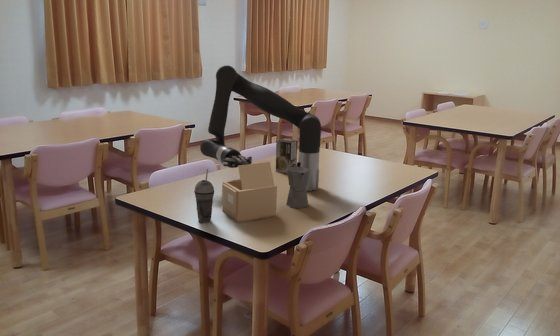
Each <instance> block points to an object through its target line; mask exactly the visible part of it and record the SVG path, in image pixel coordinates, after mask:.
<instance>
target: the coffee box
mask: <svg viewBox="0 0 560 336" xmlns="http://www.w3.org/2000/svg"><path fill="white" fill-rule="evenodd" d="M275 141H276V142H275V145H276V148H275V172H277V171H278V172H277V173H284V174H288V171H287V170H288V168H289V167H292V165H293V164H296V165H297V162H298V161H297V160H298V140H295V139H288V138H280V139H277V140H275Z"/></svg>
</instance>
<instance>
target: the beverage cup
mask: <svg viewBox="0 0 560 336" xmlns="http://www.w3.org/2000/svg"><path fill="white" fill-rule="evenodd" d="M205 172H206V173H205V179H202V180H200V181H198V182H197V183H196V184H195V186H194V192H193V193H194V195H195V202H196V211H197V212H196V213H197V214H196V215H197V219H198V223H201V224H209V223H211V221H212V214H213V213H212V212H213V211H212V210H213V201H214V196H215V188H214V185H213V184H212V182H211V181H210V180H208V175H209V168H206V171H205Z"/></svg>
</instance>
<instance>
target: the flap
mask: <svg viewBox="0 0 560 336" xmlns="http://www.w3.org/2000/svg"><path fill="white" fill-rule="evenodd" d="M237 168H238V174H239V179H241V185H242V190H247V189H253V188H260V187H267V186H274V185H275V182H274V176H273V175H274V174H273V171H272V165H271V162H270V161H266V162H265V161H264V162H258V163H257V162H256V163H251V164H247V165H239V166H238V167H237Z"/></svg>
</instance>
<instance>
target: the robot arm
mask: <svg viewBox="0 0 560 336" xmlns="http://www.w3.org/2000/svg"><path fill="white" fill-rule="evenodd" d="M215 80H216V82H215V83H216V84H215V85H216V86H215V87H216V88H215V96H214V101H213V105H212V109H211V112H210V113H211V114H210V119H209V123H208V128H207V132H208V133H209V134H210V135H212V136H214V137H215V139H214V140H213V139H209V138H208V139H204V140H203V141H202V142H201V143H200V146H199V148H200V149H199V150H200V153H201V154H203V156H205V157H207V158H208V157H209V158H212V159H214V160H216V161H218V162H219V163H221V164H222V165H223V166H224V167H227V168H230V169H235V168H236V169H237V168H238V166H239V165H247V164H253V162H252V161H253V156H248V157H246V156H242V154H241V152H240V151H239V150H237V149H235V148H233V147H231V146H228V145H226V144H225V143H226V142H225V130H226V129H225V128H226V124H227V120H228V114H229V104H230V98H231V95H232V92H233V93H235V94H237V95H239V96H241V97H243V98H244V99H245V100H247V101H248V102H250V103H251V104H252V105H254V106H255V107H257V108H259V109H260V110H262V111H264V112H265V113H267V114H268V115H271V116H273V117H276V118H279V119H282V120H285V121H287V122H289V123H291V124H292V125H294V126H295V127H296V128H298V129H299V139H298V140H299V142H298V159H297V160H298V161H297V162H300V163H301V165H300V166H301V167H306V168H308V169H310V172H309V177H308V182H307V186H306V190H307V192H312V190H314V191H319V181H320V169H319V167H320V151H321V140H322V139H321V137H322V136H321V135H322V124H321V121H320V119H319V117H318V116H316V115H315V114H312V113H310V112H308V111H305V110H303V109H302V108H299V107H297V106H295V105H294V104H293V103H291V102H290V101H289V100H287V99H286V98H285V97H282V96H281V95H280V94H277V93H276V92H274V91H273V90H271V89H269V88H268V87H267V88H266V87H264V86H262V85H259V84H257V83H255V82H252V81H250V80H248V79H246V78H245V77H244V76H242V75H240V73H238V72H237V70H236V69H235V68H234V67H233V66H231V65H227V64H225V65H222V66H220V67H219V68H218V69H217V71H216V74H215Z"/></svg>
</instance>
